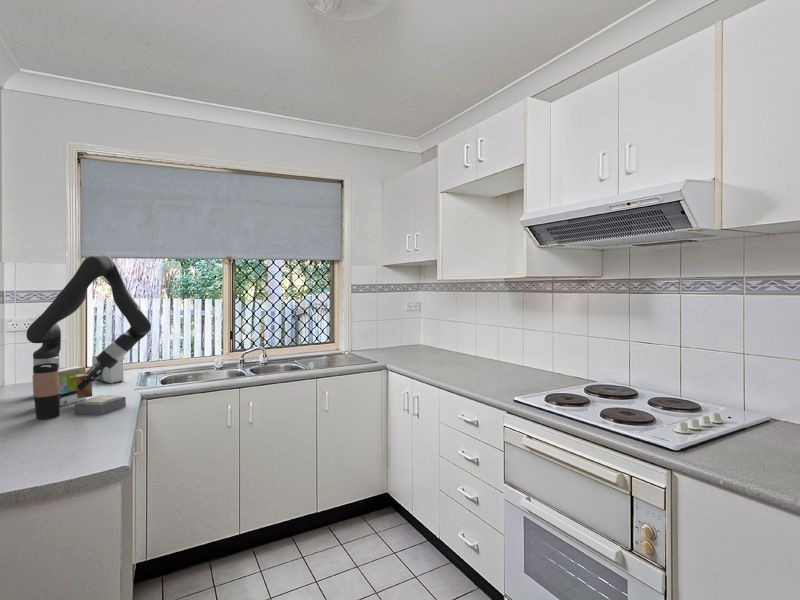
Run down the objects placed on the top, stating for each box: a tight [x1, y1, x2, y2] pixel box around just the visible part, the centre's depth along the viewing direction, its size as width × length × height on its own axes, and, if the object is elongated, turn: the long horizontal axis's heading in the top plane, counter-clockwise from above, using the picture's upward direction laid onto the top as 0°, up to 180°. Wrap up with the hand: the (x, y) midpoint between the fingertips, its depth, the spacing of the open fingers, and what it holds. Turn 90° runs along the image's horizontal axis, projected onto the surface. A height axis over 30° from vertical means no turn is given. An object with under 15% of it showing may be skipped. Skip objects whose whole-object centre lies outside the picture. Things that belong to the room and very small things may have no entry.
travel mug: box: [32, 363, 61, 421], centre depth 171 cm, size 8×8×20 cm
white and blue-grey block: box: [91, 353, 126, 384], centre depth 232 cm, size 21×8×20 cm, turn 53°
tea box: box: [58, 365, 87, 407], centre depth 190 cm, size 15×10×15 cm, turn 168°
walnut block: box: [76, 374, 93, 398], centre depth 187 cm, size 5×5×9 cm
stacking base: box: [74, 394, 127, 416], centre depth 180 cm, size 12×12×4 cm
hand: (78, 386), depth 186 cm, fingers closed on walnut block, 5 cm apart
